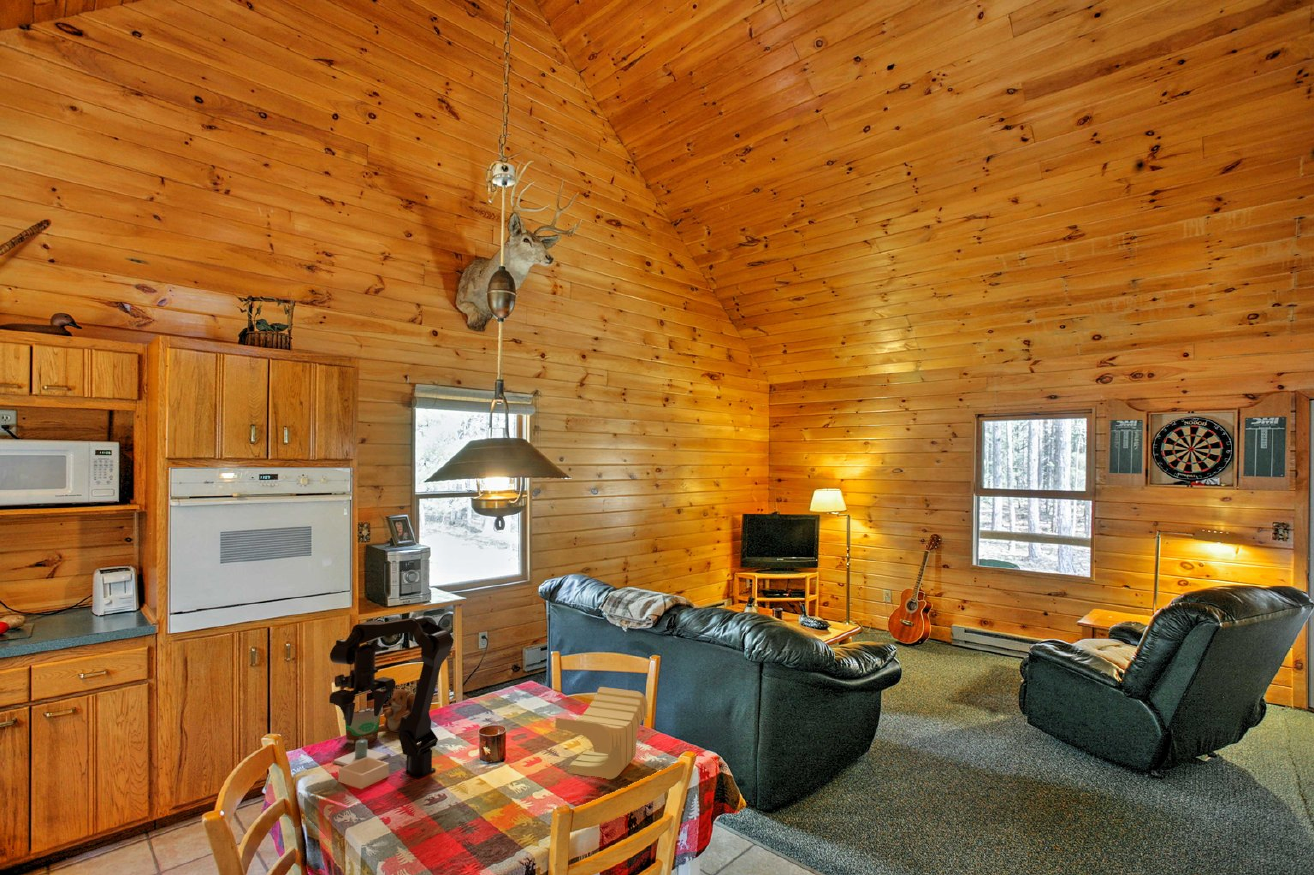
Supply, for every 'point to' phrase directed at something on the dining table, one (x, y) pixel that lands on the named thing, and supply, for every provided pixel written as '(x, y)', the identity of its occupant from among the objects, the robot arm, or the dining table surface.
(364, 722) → the food container
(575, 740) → the dining table surface
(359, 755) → the lid
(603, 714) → the slatted curved stool
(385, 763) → the dish
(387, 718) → the stuffed squirrel
